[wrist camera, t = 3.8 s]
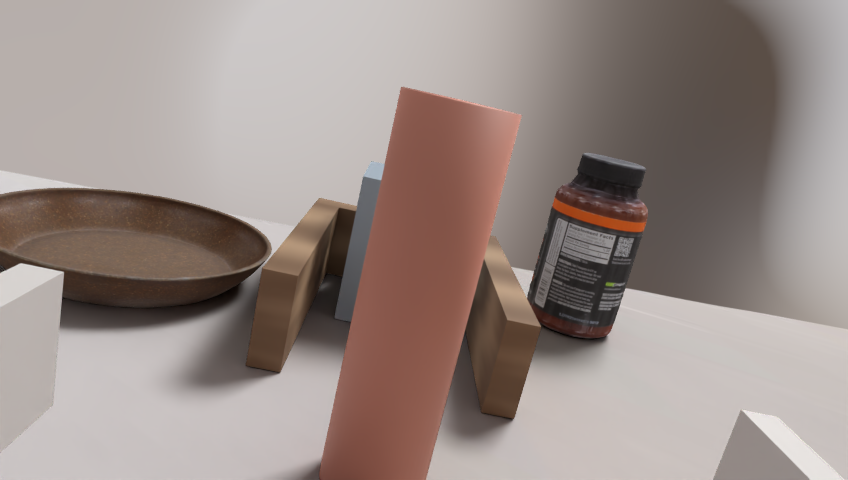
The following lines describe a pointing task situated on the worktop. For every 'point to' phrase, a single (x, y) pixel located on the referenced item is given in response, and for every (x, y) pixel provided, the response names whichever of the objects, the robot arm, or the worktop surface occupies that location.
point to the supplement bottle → (589, 248)
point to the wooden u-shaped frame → (326, 253)
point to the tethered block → (413, 282)
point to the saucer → (128, 245)
